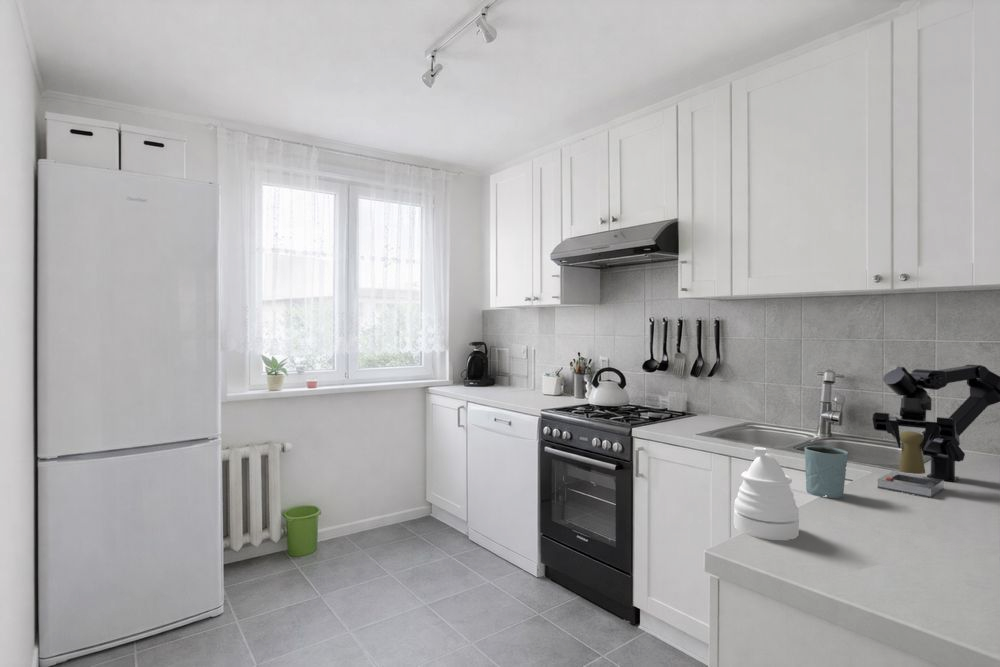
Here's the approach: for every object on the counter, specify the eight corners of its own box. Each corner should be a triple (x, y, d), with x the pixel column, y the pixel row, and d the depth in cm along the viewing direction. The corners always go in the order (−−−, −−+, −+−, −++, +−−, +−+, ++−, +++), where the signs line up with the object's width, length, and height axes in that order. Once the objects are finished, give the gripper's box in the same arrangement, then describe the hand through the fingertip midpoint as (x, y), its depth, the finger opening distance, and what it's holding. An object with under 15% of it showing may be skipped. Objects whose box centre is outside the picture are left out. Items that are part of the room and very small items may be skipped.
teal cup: (804, 486, 153) (804, 444, 153) (846, 492, 148) (847, 448, 148) (803, 495, 144) (804, 450, 144) (848, 501, 139) (849, 455, 139)
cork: (930, 474, 148) (929, 434, 148) (905, 473, 149) (904, 433, 149) (918, 468, 154) (917, 430, 154) (894, 468, 155) (893, 429, 155)
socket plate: (892, 479, 161) (892, 469, 161) (943, 488, 152) (943, 477, 152) (877, 487, 152) (877, 476, 152) (930, 498, 143) (930, 486, 143)
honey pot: (769, 544, 110) (770, 456, 110) (721, 523, 122) (721, 444, 122) (812, 535, 116) (813, 451, 115) (762, 516, 127) (762, 440, 127)
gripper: (873, 385, 161) (867, 427, 153) (955, 389, 148) (953, 435, 140) (877, 408, 167) (871, 450, 159) (955, 414, 154) (954, 460, 146)
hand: (910, 448), depth 151 cm, fingers closed on cork, 5 cm apart
